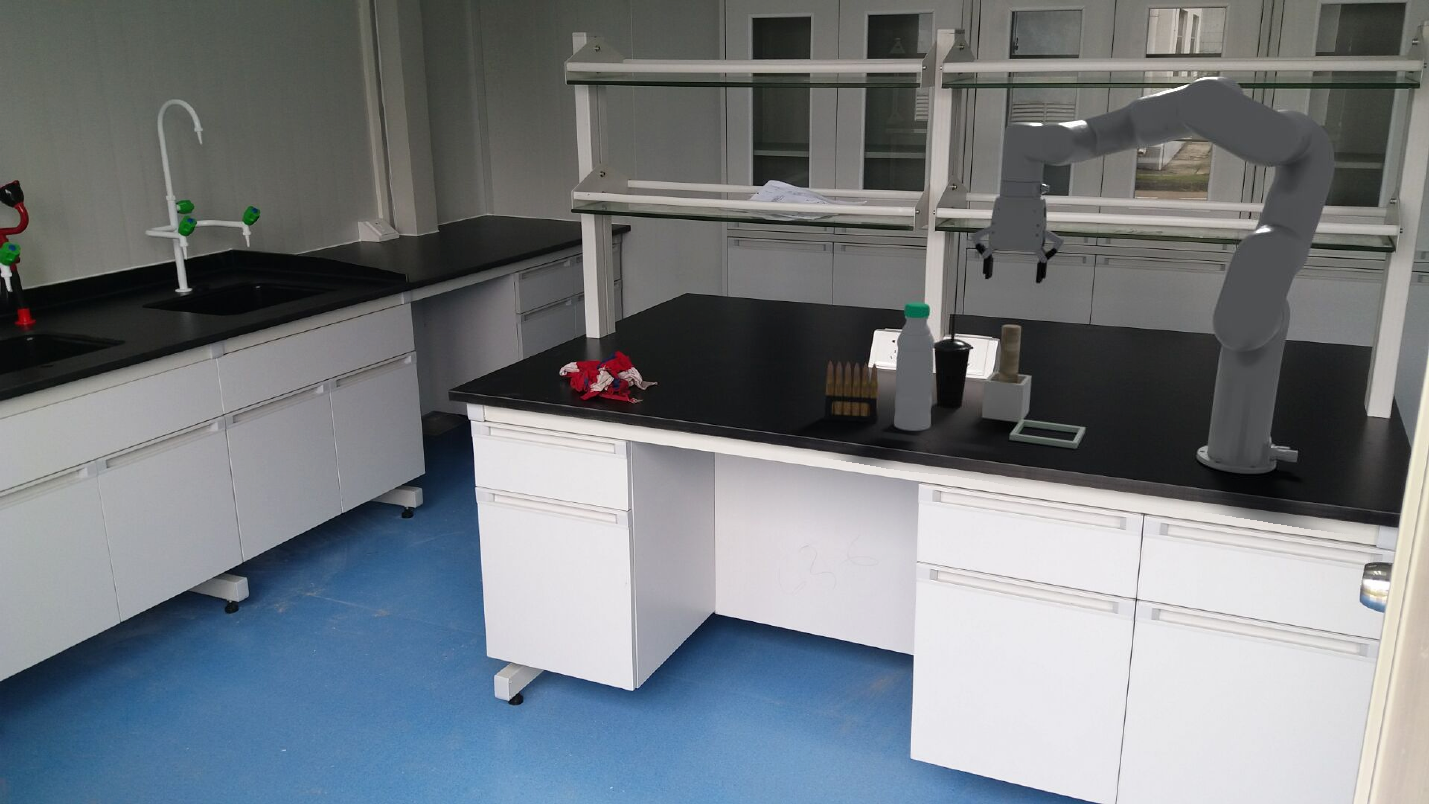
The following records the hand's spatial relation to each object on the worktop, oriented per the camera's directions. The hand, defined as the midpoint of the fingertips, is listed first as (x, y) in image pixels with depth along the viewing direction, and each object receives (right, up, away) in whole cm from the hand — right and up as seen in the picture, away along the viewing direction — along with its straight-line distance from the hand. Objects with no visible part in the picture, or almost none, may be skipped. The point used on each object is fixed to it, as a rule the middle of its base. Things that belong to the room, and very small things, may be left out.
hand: (1013, 280), depth 203 cm
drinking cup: (-9, -25, +15) cm, 31 cm away
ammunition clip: (-30, -27, +9) cm, 42 cm away
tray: (+5, -31, -5) cm, 32 cm away
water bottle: (-19, -29, +3) cm, 35 cm away
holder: (+1, -27, +8) cm, 28 cm away
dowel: (+1, -26, +8) cm, 27 cm away
